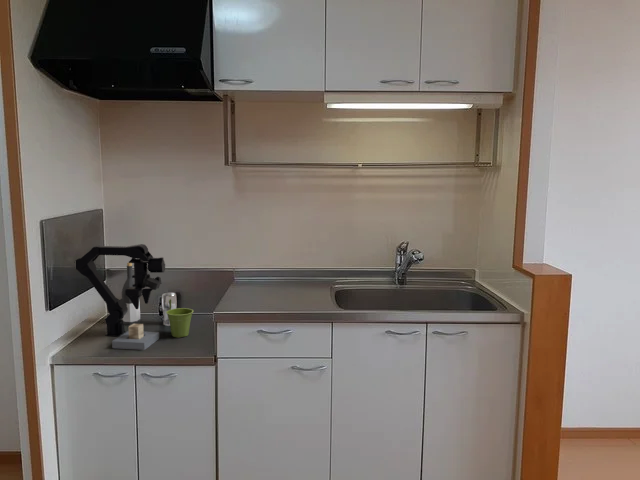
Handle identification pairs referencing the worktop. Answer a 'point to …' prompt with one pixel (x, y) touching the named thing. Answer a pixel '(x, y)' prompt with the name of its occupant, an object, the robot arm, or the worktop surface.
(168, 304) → the beer glass
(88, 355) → the worktop surface
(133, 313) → the wine bottle
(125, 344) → the socket block
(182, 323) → the plant pot
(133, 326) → the maple peg
